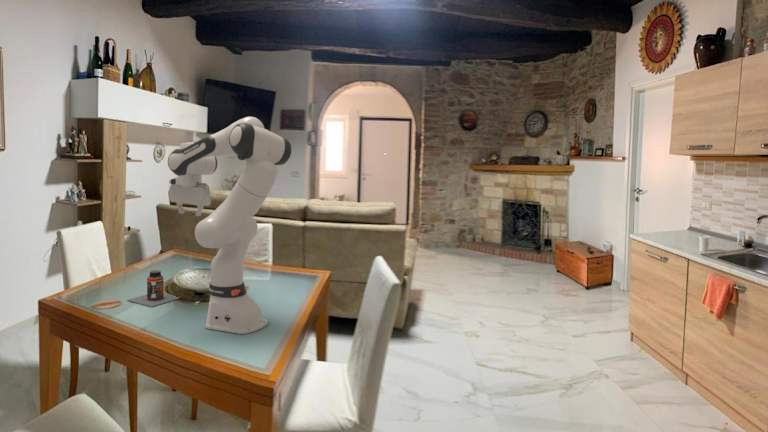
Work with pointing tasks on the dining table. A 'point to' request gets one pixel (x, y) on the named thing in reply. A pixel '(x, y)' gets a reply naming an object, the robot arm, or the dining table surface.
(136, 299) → the slate mat
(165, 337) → the dining table surface
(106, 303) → the cork coaster
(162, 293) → the supplement bottle
